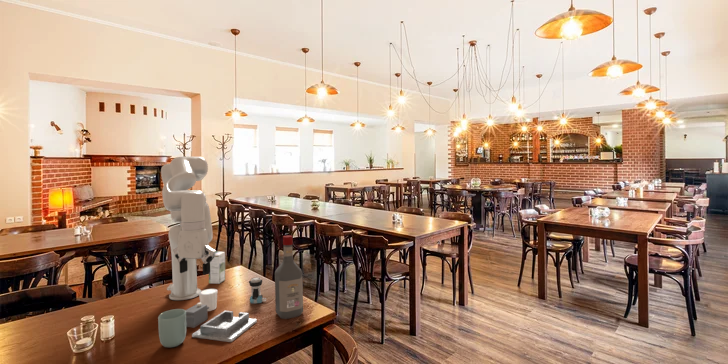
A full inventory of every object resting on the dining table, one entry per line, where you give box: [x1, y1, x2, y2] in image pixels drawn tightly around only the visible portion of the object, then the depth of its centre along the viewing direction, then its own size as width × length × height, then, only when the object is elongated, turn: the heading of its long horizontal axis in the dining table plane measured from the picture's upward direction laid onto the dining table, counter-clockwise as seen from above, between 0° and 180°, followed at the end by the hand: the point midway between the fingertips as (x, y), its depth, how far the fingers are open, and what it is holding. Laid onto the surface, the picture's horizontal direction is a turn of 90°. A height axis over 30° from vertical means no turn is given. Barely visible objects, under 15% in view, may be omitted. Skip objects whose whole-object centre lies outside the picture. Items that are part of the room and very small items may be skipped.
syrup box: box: [208, 251, 226, 285], centre depth 172 cm, size 6×6×14 cm
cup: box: [157, 308, 188, 349], centre depth 111 cm, size 8×8×10 cm
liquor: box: [274, 234, 304, 320], centre depth 133 cm, size 9×9×30 cm
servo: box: [184, 301, 209, 329], centre depth 127 cm, size 4×9×6 cm, turn 166°
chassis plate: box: [191, 310, 258, 343], centre depth 122 cm, size 15×15×4 cm
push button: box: [249, 277, 267, 304], centre depth 145 cm, size 7×5×10 cm
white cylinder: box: [198, 288, 218, 312], centre depth 139 cm, size 7×7×7 cm
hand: (195, 272), depth 126 cm, fingers open, 9 cm apart
